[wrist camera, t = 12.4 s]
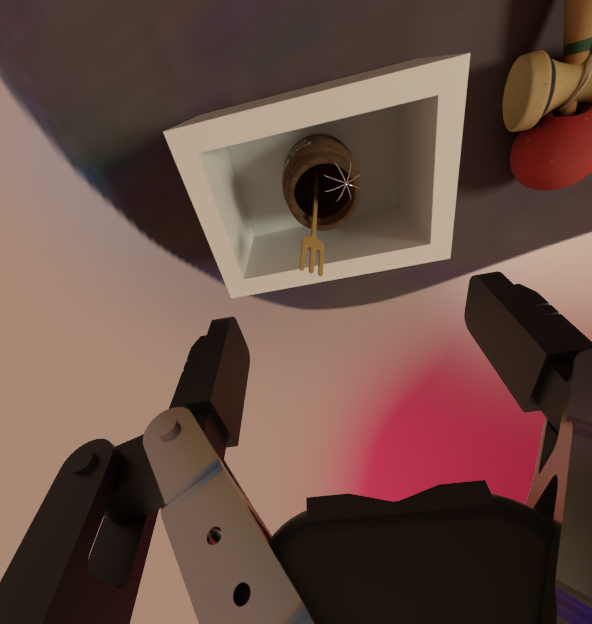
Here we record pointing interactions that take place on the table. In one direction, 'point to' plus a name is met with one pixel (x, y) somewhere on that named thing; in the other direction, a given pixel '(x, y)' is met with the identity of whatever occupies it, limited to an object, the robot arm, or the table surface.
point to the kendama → (553, 108)
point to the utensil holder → (320, 189)
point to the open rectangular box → (370, 160)
